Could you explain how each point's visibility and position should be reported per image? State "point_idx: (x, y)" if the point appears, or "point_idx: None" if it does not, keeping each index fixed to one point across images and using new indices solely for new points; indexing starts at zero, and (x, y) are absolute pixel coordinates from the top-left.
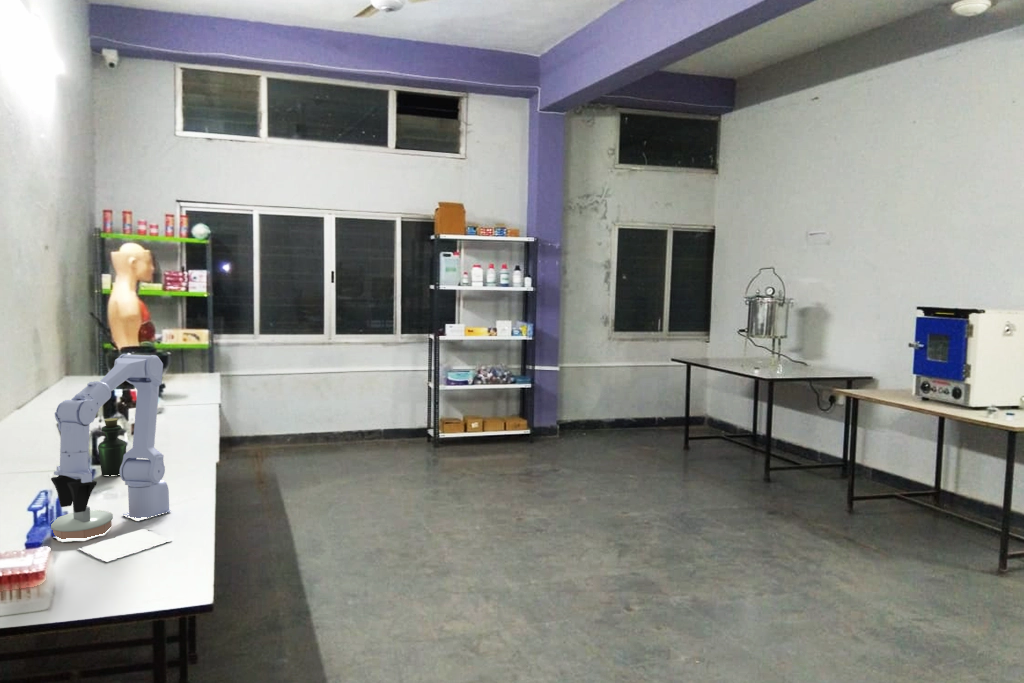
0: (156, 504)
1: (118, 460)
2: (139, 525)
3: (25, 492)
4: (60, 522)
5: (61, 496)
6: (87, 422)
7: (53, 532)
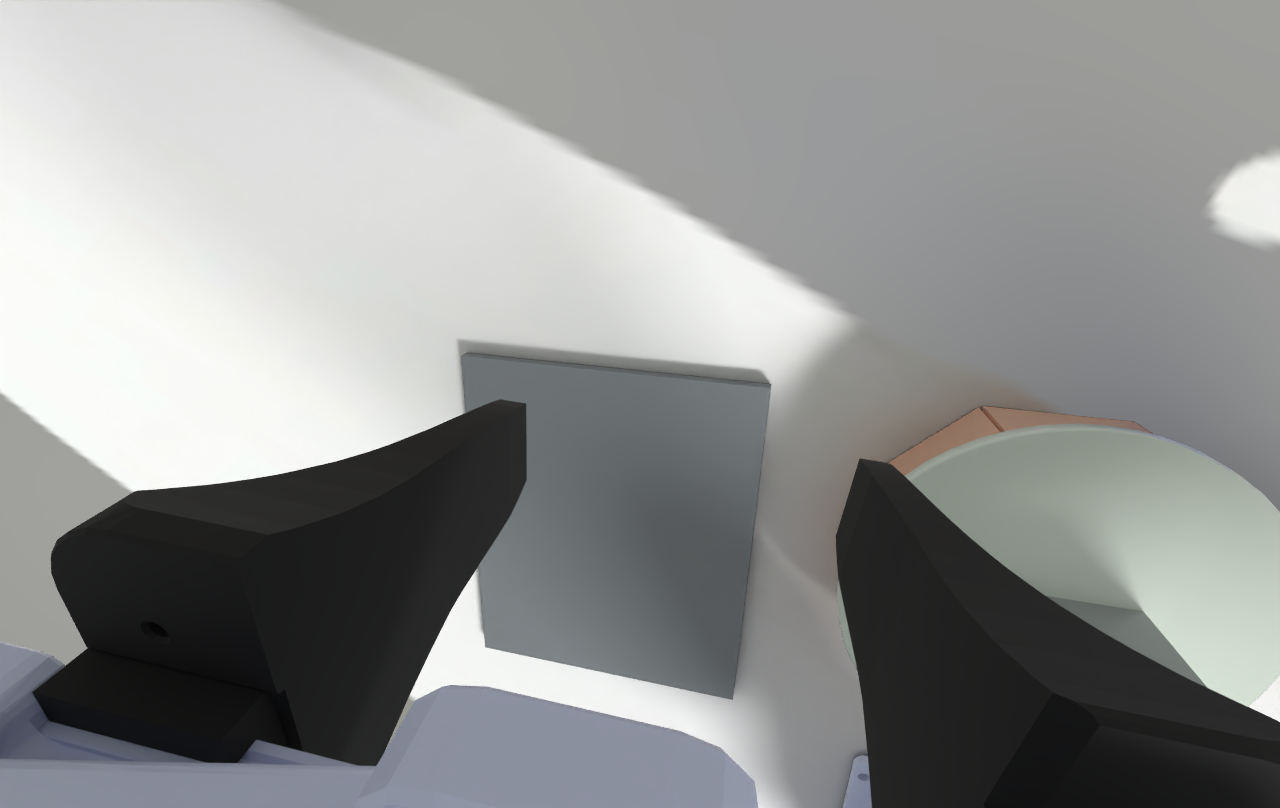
0: None
1: None
2: (810, 725)
3: None
4: (1164, 521)
5: (895, 536)
6: None
7: None
